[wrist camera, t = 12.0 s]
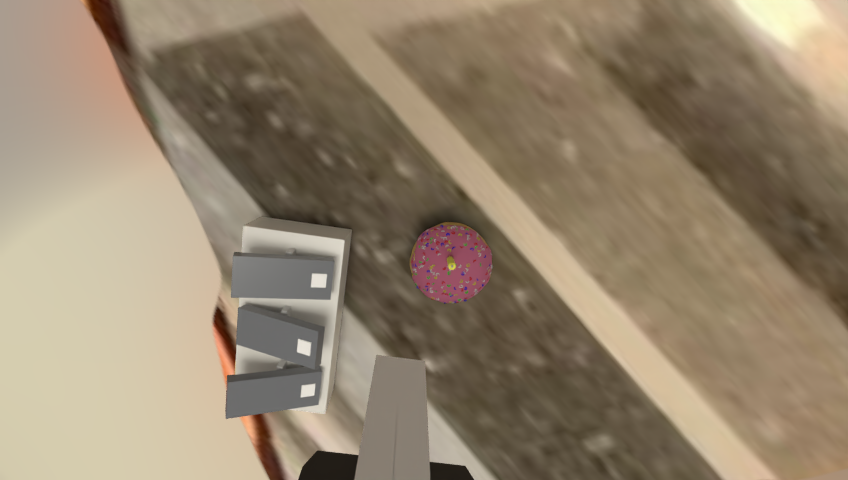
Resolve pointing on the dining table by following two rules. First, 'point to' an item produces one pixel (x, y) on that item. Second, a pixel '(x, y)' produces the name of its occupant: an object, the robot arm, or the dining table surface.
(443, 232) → the cupcake
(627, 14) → the dining table surface
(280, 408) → the rocker
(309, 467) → the robot arm
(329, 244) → the switch unit
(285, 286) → the rocker
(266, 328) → the block
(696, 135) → the dining table surface
